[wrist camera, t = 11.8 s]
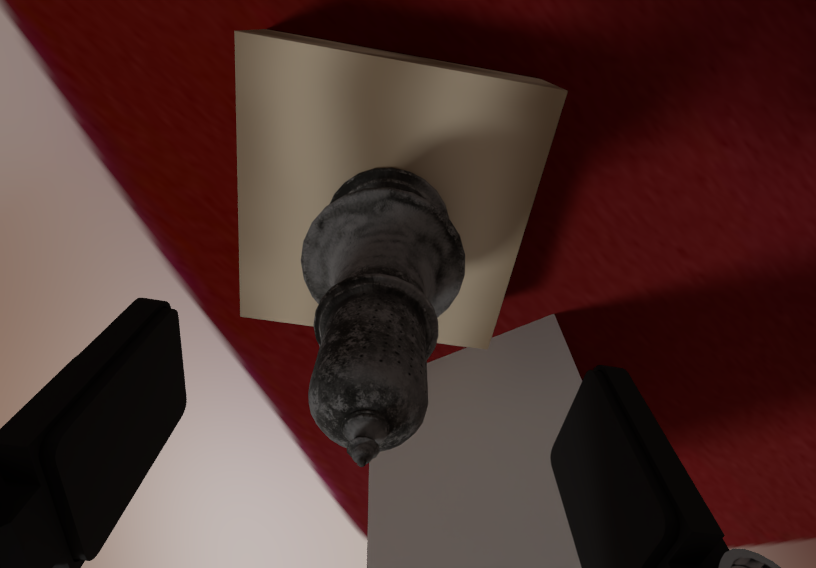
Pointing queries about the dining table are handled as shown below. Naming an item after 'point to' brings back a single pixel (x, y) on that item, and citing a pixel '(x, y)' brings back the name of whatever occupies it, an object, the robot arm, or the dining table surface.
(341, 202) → the black chess piece
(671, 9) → the dining table surface
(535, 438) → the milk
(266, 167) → the beech block
